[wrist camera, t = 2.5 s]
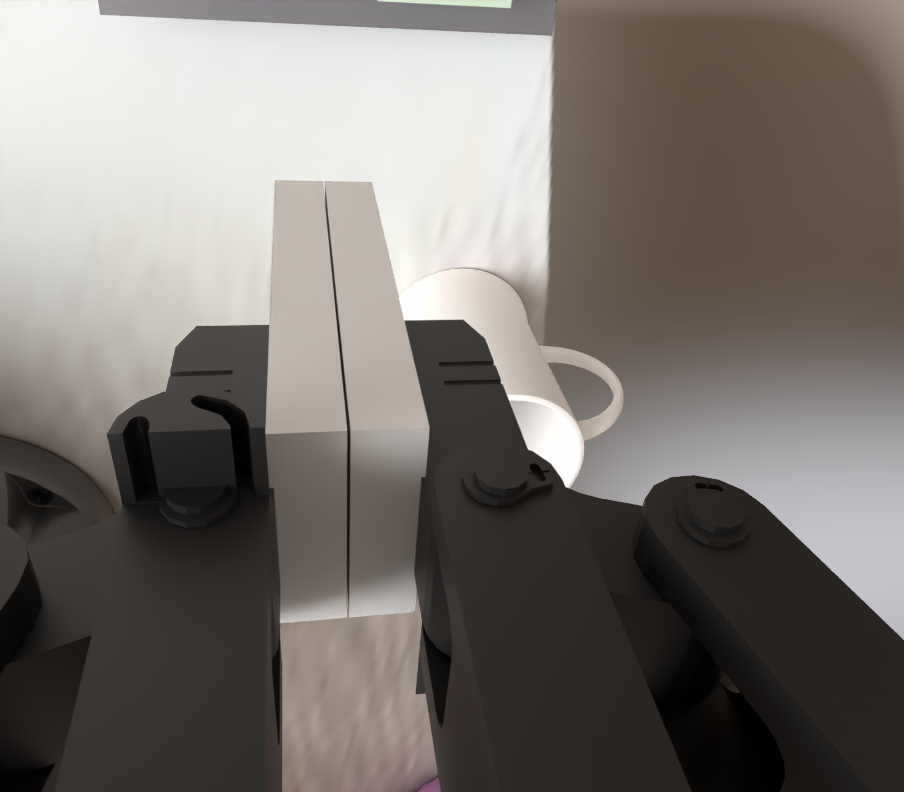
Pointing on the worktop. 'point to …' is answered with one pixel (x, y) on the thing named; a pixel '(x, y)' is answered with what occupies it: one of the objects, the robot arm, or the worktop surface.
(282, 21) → the switch panel
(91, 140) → the worktop surface
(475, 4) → the rocker green
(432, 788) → the teapot
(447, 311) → the mug
